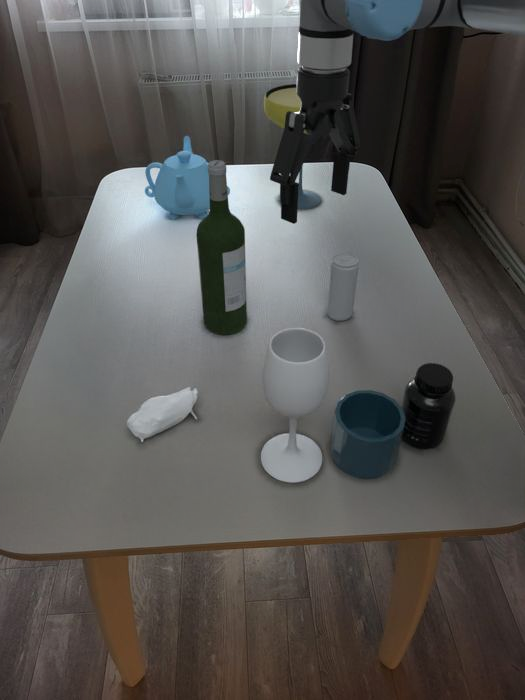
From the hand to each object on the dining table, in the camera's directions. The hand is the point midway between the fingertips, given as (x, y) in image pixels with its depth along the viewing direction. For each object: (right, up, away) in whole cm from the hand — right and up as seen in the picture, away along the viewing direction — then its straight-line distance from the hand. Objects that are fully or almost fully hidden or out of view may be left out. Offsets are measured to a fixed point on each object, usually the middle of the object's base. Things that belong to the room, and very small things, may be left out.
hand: (314, 206), depth 93 cm
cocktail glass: (+1, +14, +48) cm, 50 cm away
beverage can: (+6, -17, +12) cm, 22 cm away
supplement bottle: (+14, -36, -10) cm, 41 cm away
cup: (+6, -39, -13) cm, 41 cm away
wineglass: (-5, -39, -14) cm, 42 cm away
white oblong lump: (-24, -35, -9) cm, 44 cm away
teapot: (-27, +11, +44) cm, 53 cm away
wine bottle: (-16, -19, +10) cm, 26 cm away
